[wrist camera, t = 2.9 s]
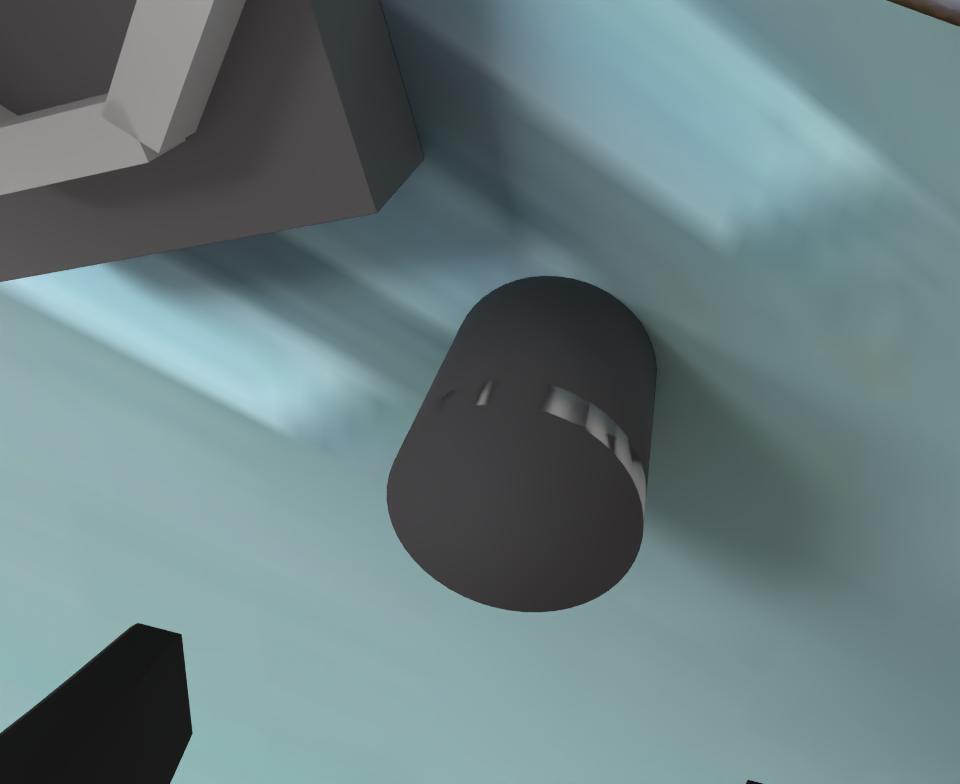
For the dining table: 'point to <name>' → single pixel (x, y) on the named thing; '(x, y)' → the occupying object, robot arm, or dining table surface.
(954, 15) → the ceramic cup
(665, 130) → the dining table surface
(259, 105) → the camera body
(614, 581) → the lens
